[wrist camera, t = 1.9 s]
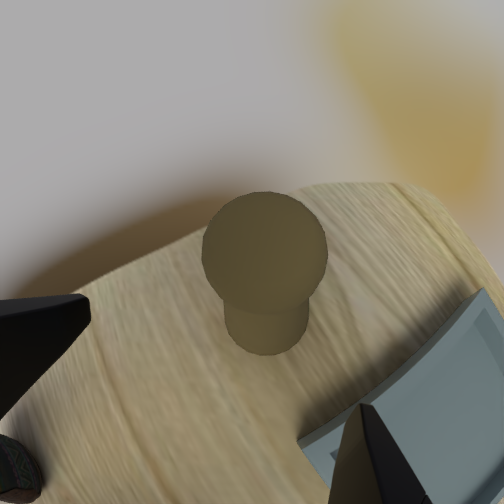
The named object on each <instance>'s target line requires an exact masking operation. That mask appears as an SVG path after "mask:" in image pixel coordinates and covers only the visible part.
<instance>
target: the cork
mask: <svg viewBox="0 0 504 504" xmlns="http://www.w3.org/2000/svg"><path fill="white" fill-rule="evenodd" d="M327 259H328V250H327V243H326V237H325V232H324V230H323V228H322V226H321V224H320V223H319V221H318V219H317V217H316V216H315V215H314V214H313V213H312V212H311V211H310V210H309V209H308V208H307V207H305V206H304V205H303V204H302V203H301V202H299V201H297V200H295V199H293V198H291V197H289V196H287V195H284V194H279V193H274V192H254V193H250V194H247V195H244V196H240V197H237V198H236V199H234V200H233V201H231V202H229V203H227V204H226V205H224V206H223V208H222V209H221V210H220V211H219V212H218V213H217V214H216V215H215V216H214V217H213V219H212V220H211V221H210V223H209V225H208V227H207V229H206V232H205V234H204V236H203V245H202V264H203V267H204V271H205V274H206V278H207V280H208V281H209V283H210V285H211V286H212V287H213V289H214V290H215V291H216V293H217V294H218V295H219V297H220V298H221V299H223V300H224V315H225V323H226V326H227V329H228V332H229V335H230V336H231V337H232V339H233V340H234V341H235V342H236V344H237V345H239V346H240V347H242V348H243V349H245V350H246V351H248V352H251V353H254V354H258V355H276V354H279V353H281V352H284V351H287V350H289V349H290V348H291V347H292V346H294V345H295V344H296V343H297V342H298V341H299V340H300V338H301V337H302V335H303V334H304V332H305V330H306V326H307V322H308V315H309V297H310V296H311V295H312V294H313V292H314V291H315V289H316V288H317V286H318V284H319V283H320V281H321V280H322V278H323V275H324V273H325V269H326V264H327Z"/></svg>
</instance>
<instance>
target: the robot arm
mask: <svg viewBox="0 0 504 504" xmlns="http://www.w3.org/2000/svg"><path fill="white" fill-rule="evenodd" d="M90 321H91V312H90V302H89V299H88V298H87V297H85V296H84V295H82V294H79V293H78V294H67V295H57V296H46V297H33V298H21V299H9V300H0V420H1V419H2V418H3V417H4V416H5V415H6V413H7V412H8V411H9V410H10V409H11V408H12V407H13V406H14V405H15V404H16V402H17V401H18V400H19V399H20V398H21V397H22V396H23V395H24V394H25V393H26V392H27V391H28V390H29V389H30V387H31V386H32V385H33V384H34V383H35V382H36V381H37V380H38V379H39V378H40V377H41V376H42V375H43V374H44V373H45V372H46V371H47V370H48V369H49V368H50V367H51V366H52V365H53V364H54V363H55V362H56V361H57V360H58V359H59V358H60V357H61V356H62V355H63V354H64V353H65V352H66V351H67V350H68V348H69V347H70V346H71V345H72V344H73V342H74V341H75V340H76V339H77V338H78V336H79V335H80V334H81V333H82V332H83V331H84V329H85V328H86V327H87V326H88V325H89V323H90ZM328 504H433V503H432V501H431V500H430V498H429V496H428V495H427V494H426V491H425V490H424V488H423V486H422V484H421V483H420V481H419V479H418V478H417V476H416V474H415V473H414V471H413V469H412V468H411V466H410V464H409V463H408V461H407V459H406V458H405V456H404V454H403V453H402V451H401V449H400V448H399V446H398V445H397V443H396V441H395V440H394V438H393V436H392V435H391V433H390V432H389V430H388V428H387V427H386V425H385V423H384V422H383V420H382V419H381V417H380V415H379V414H378V412H377V411H376V409H375V407H374V406H373V405H371V404H366V403H359V404H358V405H357V406H356V407H355V409H354V410H353V412H352V413H351V415H350V416H349V417H348V419H347V420H346V423H345V425H344V429H343V434H342V438H341V442H340V447H339V451H338V455H337V458H336V462H335V466H334V471H333V476H332V483H331V489H330V495H329V501H328Z"/></svg>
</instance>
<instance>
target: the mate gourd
mask: <svg viewBox="0 0 504 504" xmlns="http://www.w3.org/2000/svg"><path fill="white" fill-rule="evenodd" d="M41 491H42V479H41V474H40V470H39V468H38V466H37V464H36V462H35V460H34V459H33V457H32V456H31V454H30V453H29V452H28V450H27V449H26V448H25V447H24V446H23V445H22V444H21V443H19V442H18V441H16V440H14V439H12V438H9V437H7V436H4V435H2V434H0V501H4V502H7V503H14V504H28V503H31V502H34V501H35V500H36V499H37V498H39V496H40V495H41Z"/></svg>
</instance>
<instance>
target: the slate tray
mask: <svg viewBox="0 0 504 504" xmlns="http://www.w3.org/2000/svg"><path fill="white" fill-rule="evenodd" d="M359 403H366V404H371V405H373V406H374V407H375V409H376V411H377V412H378V414H379V415H380V417H381V419H382V420H383V422H384V423H385V425H386V427H387V428H388V430H389V432H390V433H391V435H392V436H393V438H394V440H395V441H396V443H397V445H398V446H399V448H400V449H401V451H402V453H403V454H404V456H405V458H406V459H407V461H408V463H409V464H410V466H411V468H412V469H413V471H414V473H415V474H416V476H417V478H418V479H419V481H420V483H421V484H422V486H423V488H424V490H425V491H426V494H427V495H428V496H429V498H430V500H431V501H432V503H433V504H497V503H498V502H499V501H500V500H501V499H502V497H503V496H504V320H503V318H502V317H501V315H500V313H499V311H498V310H497V308H496V307H495V305H494V303H493V302H492V300H491V299H490V297H489V295H488V294H487V292H486V291H485V289H484V288H481V289H480V290H479V291H477V292H476V293H474V294H473V295H471V296H470V297H468V298H467V299H465V300H464V301H463V302H462V303H461V305H460V306H459V307H458V308H457V309H456V310H455V312H454V313H453V314H452V315H451V316H450V317H449V318H448V320H447V321H446V322H445V323H444V324H443V325H442V326H441V327H440V328H439V329H438V330H437V331H436V333H435V334H434V335H433V336H432V337H431V338H430V339H429V340H428V341H427V342H426V343H425V344H424V345H423V346H422V347H421V348H420V349H419V350H418V351H417V352H416V353H414V354H413V355H412V356H411V357H410V358H409V359H408V360H407V361H406V362H405V363H404V364H403V365H401V366H400V367H399V368H398V369H397V370H396V371H395V372H393V373H392V374H391V375H390V376H389V377H388V378H386V379H385V380H384V381H383V382H382V383H380V384H379V385H378V386H377V387H375V388H374V389H373V390H372V391H370V392H369V393H368V394H367V395H365V396H364V397H363V398H361V399H360V400H359V401H357V402H356V403H355V404H353V405H352V406H350V407H349V408H348V409H346V410H345V411H343V412H342V413H341V414H339V415H338V416H336V417H335V418H333V419H332V420H330V421H329V422H327V423H326V424H324V425H322V426H321V427H319V428H318V429H316V430H315V431H313V432H311V433H310V434H308V435H306V436H305V437H303V438H301V439H300V440H298V441H296V442H297V443H298V445H299V447H300V448H301V450H302V451H303V453H304V454H305V456H306V457H307V459H308V460H309V461H310V463H311V464H312V466H313V467H314V468H315V470H316V471H317V473H318V474H319V475H320V477H321V478H322V479H323V481H324V482H325V483H326V485H327V486H328V487H329V489H331V483H332V476H333V471H334V466H335V462H336V458H337V455H338V451H339V447H340V442H341V438H342V434H343V429H344V425H345V423H346V420H347V419H348V417H349V416H350V415H351V413H352V412H353V410H354V409H355V407H356V406H357V405H358V404H359Z"/></svg>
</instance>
